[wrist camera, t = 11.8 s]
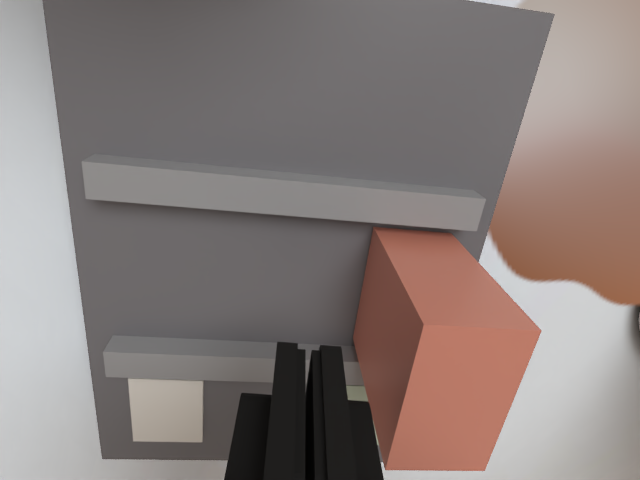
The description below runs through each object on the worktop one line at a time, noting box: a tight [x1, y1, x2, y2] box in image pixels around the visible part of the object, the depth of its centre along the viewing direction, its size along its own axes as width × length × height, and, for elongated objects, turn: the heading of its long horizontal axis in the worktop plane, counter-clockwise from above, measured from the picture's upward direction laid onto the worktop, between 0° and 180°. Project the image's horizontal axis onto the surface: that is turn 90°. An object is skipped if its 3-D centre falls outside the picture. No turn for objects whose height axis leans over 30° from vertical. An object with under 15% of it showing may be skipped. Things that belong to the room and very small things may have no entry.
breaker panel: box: [43, 0, 554, 462], centre depth 17 cm, size 15×20×4 cm
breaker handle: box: [353, 227, 541, 471], centre depth 14 cm, size 3×5×6 cm, turn 173°
